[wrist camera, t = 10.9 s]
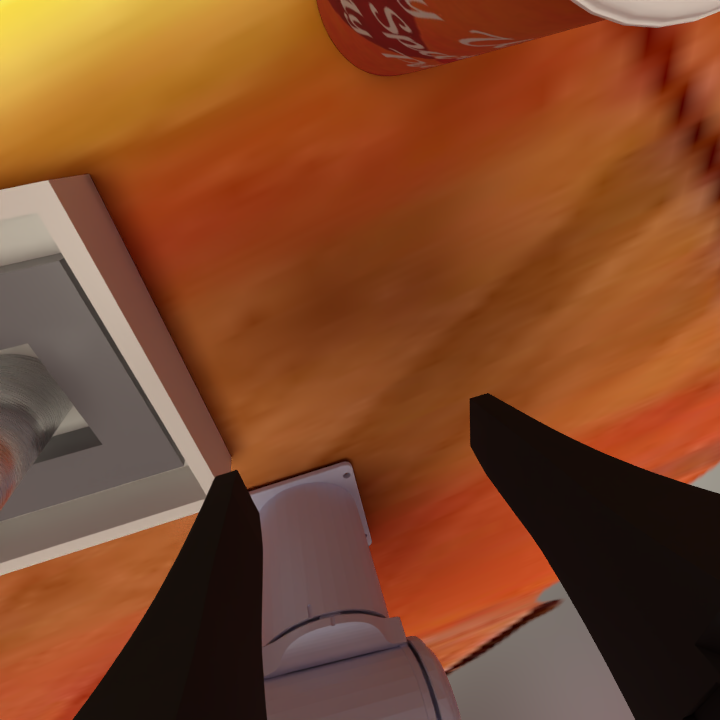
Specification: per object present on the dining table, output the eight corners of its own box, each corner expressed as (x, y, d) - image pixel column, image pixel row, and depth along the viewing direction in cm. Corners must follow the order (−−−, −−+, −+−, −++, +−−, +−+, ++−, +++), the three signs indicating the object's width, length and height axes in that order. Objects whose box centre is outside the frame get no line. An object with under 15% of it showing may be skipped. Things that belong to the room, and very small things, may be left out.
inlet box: (231, 457, 23) (228, 502, 20) (-13, 531, 21) (-55, 592, 18) (89, 173, 15) (48, 180, 12) (-329, 258, 13) (-499, 290, 10)
